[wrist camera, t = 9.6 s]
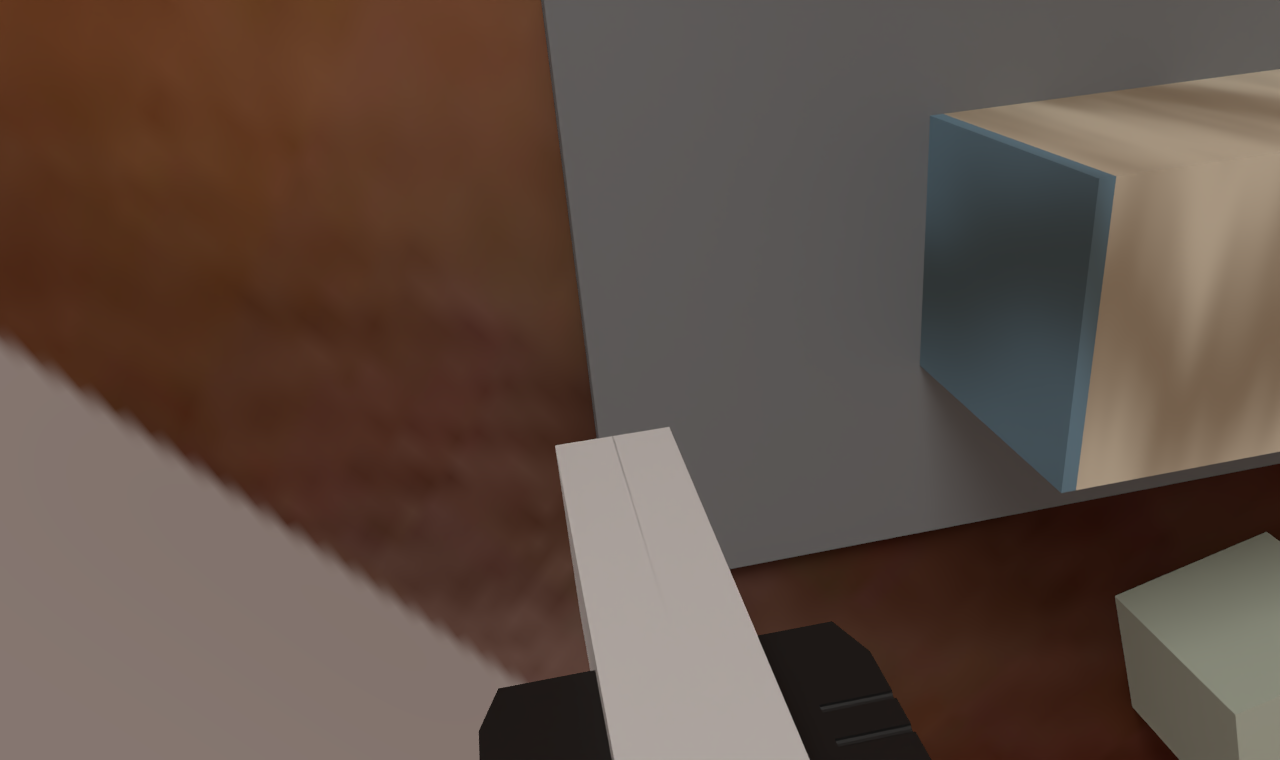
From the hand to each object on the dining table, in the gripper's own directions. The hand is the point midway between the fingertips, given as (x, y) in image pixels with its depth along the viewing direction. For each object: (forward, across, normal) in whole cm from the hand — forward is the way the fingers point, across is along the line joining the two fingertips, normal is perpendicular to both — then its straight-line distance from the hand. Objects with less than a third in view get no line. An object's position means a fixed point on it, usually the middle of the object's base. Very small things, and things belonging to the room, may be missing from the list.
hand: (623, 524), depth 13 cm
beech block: (+6, +8, 0) cm, 11 cm away
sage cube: (+10, +18, -14) cm, 25 cm away
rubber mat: (+10, +12, 0) cm, 16 cm away
